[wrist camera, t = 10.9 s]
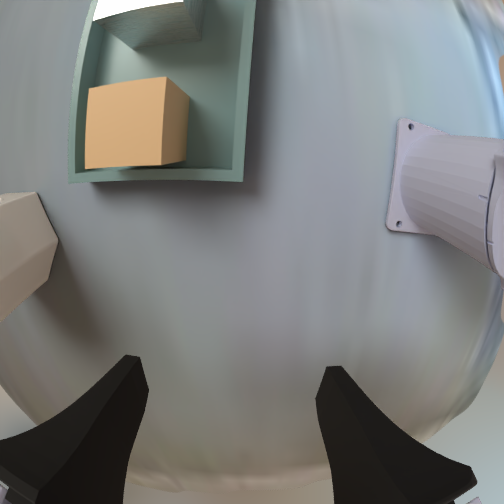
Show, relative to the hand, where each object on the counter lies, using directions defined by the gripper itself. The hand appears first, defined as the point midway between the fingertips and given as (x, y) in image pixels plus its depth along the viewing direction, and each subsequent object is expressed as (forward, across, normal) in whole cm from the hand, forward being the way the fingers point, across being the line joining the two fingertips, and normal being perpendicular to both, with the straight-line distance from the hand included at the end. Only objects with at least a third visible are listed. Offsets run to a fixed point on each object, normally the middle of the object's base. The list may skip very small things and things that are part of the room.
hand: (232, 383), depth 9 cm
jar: (+10, +19, -2) cm, 22 cm away
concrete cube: (+9, +6, -18) cm, 21 cm away
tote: (+10, +6, -14) cm, 18 cm away
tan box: (+9, +6, -10) cm, 14 cm away
